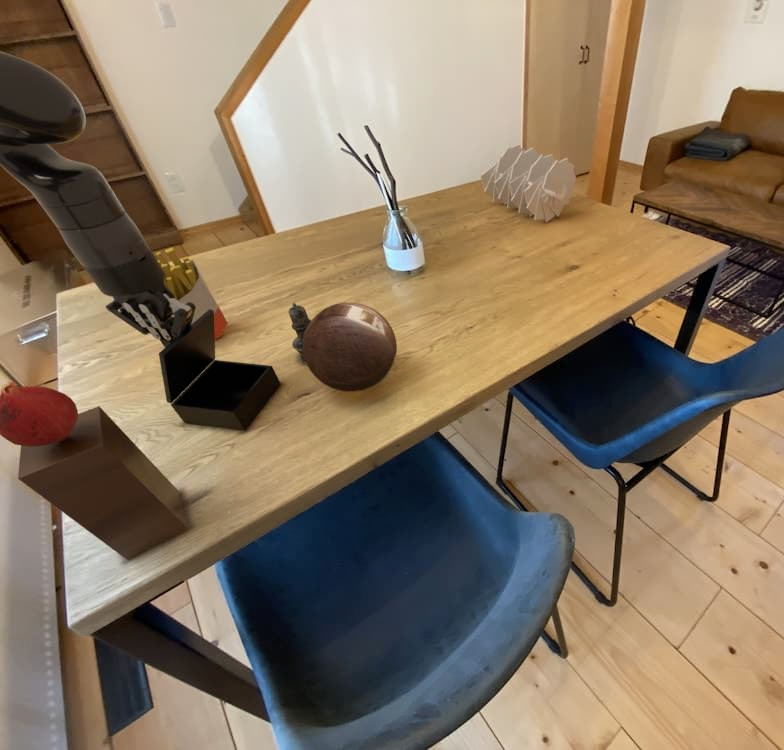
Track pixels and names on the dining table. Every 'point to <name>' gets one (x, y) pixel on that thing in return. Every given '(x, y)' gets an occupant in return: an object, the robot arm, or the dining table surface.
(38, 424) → the pomegranate
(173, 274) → the french fries container
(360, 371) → the wooden sphere
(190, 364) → the box lid
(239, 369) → the box
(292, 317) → the grey chess piece
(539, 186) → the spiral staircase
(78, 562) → the dining table surface
